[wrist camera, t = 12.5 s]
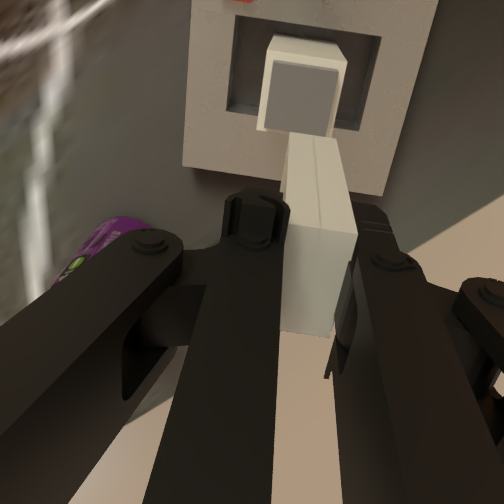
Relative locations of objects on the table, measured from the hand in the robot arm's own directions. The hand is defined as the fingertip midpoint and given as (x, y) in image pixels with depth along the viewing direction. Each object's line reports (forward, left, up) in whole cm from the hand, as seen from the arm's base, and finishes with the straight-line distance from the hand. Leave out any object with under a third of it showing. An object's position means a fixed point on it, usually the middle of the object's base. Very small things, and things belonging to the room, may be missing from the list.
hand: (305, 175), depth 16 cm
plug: (0, 0, -24) cm, 24 cm away
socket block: (0, 0, -24) cm, 24 cm away
